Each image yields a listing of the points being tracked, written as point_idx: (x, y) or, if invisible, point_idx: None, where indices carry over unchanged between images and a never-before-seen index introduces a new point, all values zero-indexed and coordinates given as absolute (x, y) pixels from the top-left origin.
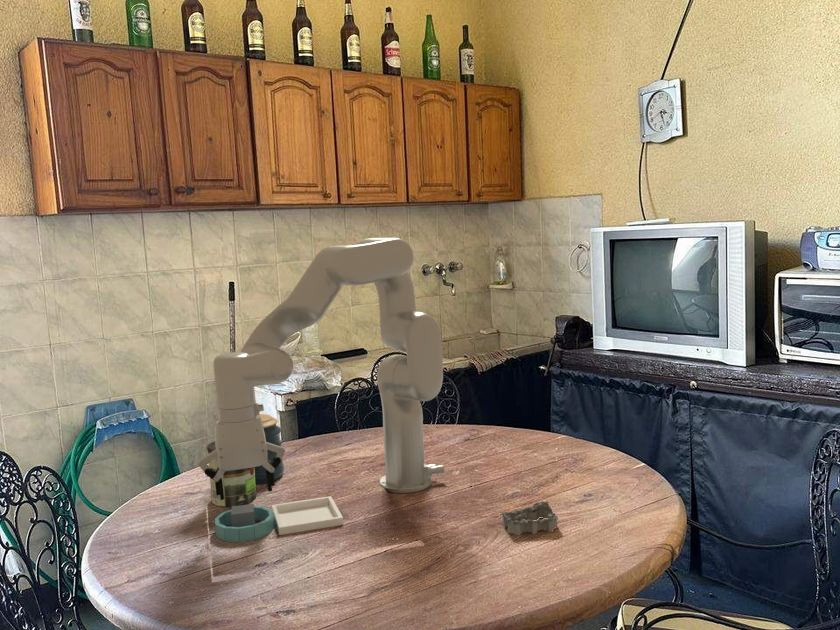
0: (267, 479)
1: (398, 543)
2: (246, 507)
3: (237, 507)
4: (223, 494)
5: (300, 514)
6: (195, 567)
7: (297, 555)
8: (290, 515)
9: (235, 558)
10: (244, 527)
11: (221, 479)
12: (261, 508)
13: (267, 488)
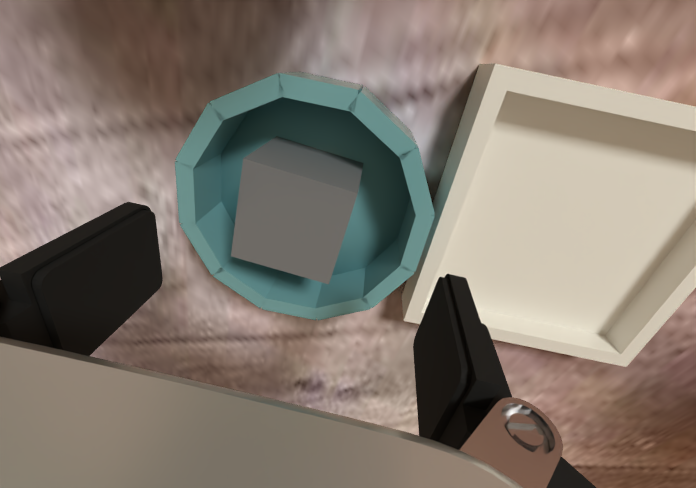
0: (418, 413)
1: (625, 460)
2: (311, 217)
3: (269, 190)
4: (141, 303)
5: (564, 185)
6: (157, 321)
7: (399, 393)
8: (524, 169)
9: (256, 332)
10: (282, 311)
11: (52, 328)
12: (402, 166)
13: (430, 298)
